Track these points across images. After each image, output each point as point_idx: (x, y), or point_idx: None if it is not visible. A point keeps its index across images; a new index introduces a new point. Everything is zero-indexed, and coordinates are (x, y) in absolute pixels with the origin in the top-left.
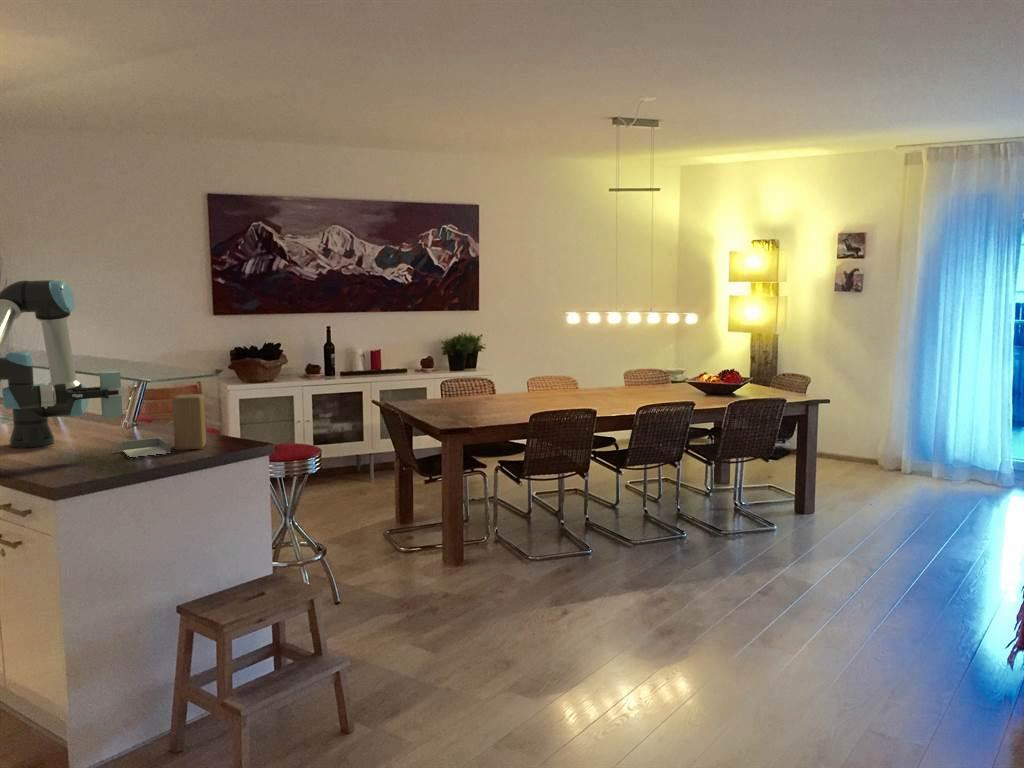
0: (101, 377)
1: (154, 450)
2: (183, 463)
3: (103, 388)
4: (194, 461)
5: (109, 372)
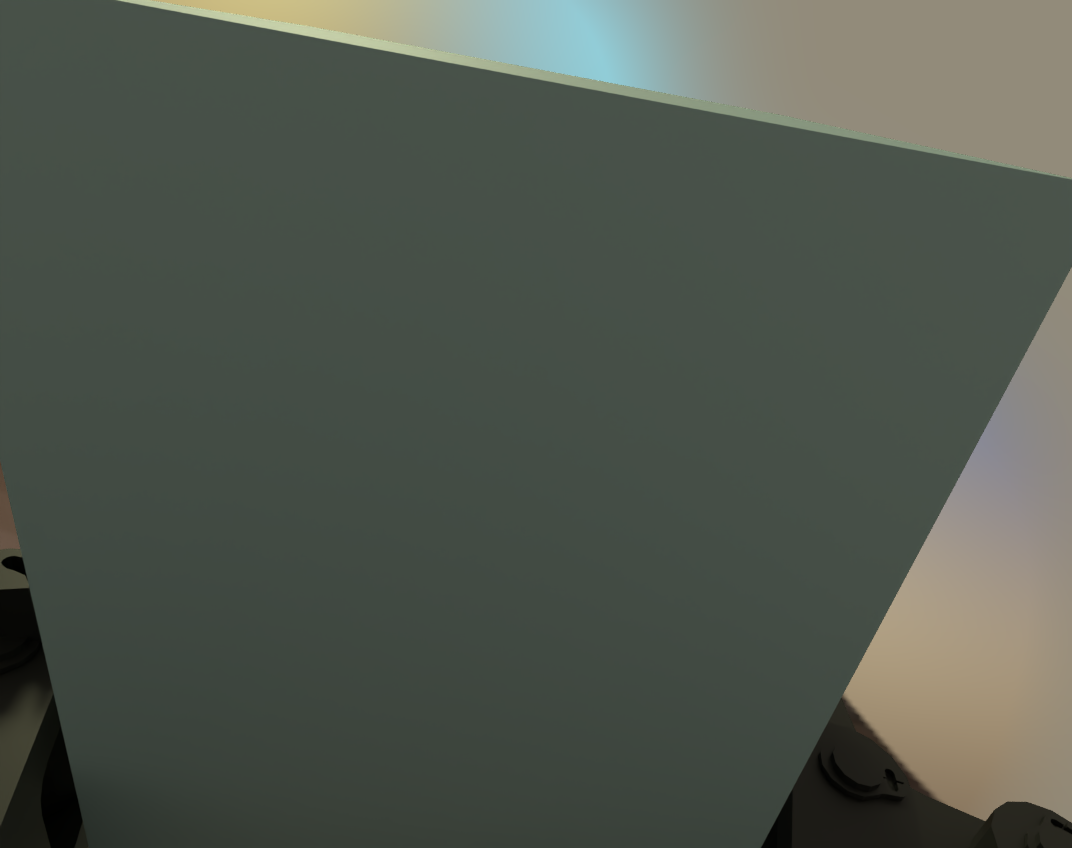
0: (826, 424)
1: None
2: (910, 780)
3: (757, 797)
4: (860, 716)
5: (697, 102)
